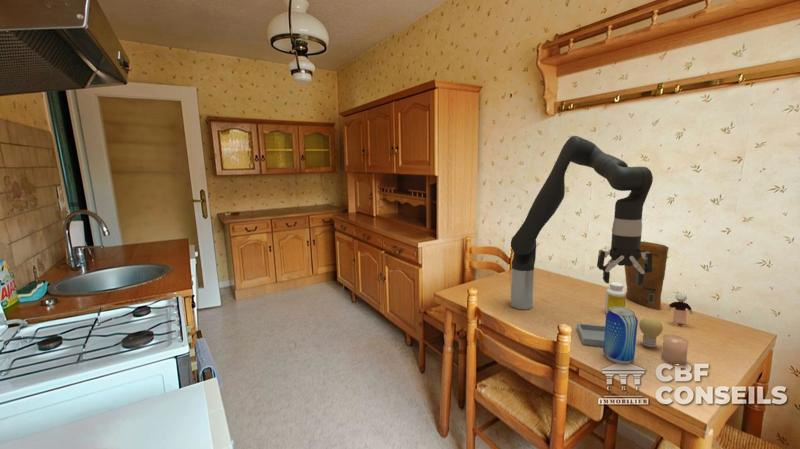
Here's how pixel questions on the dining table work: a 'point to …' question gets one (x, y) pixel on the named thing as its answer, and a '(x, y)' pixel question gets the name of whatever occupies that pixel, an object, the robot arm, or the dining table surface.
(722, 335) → the dining table surface
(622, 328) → the beer can
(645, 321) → the light bulb
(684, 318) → the grandmother figurine
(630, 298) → the pancake mix bag
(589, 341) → the tray
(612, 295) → the supplement bottle
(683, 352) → the beige rounded block
